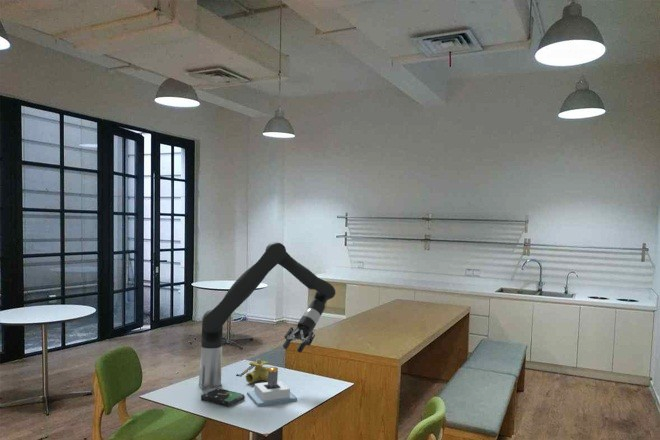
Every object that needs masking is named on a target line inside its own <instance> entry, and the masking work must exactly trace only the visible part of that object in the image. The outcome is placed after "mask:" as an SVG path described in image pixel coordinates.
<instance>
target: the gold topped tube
mask: <svg viewBox="0 0 660 440" xmlns="http://www.w3.org/2000/svg"><path fill="white" fill-rule="evenodd" d="M278 372H279V367H277V366H269V367H268V388H267V389H275V388H277V381H278V378H279V377H278V375H279V373H278Z"/></svg>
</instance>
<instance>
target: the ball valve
mask: <svg viewBox="0 0 660 440" xmlns="http://www.w3.org/2000/svg"><path fill="white" fill-rule="evenodd" d="M248 364H249V366H251V365H254V369H253V370H252V371H251V372H246V376H245V380H246V382H247V383H248V384H252V383H255V382H259V381H264V382H268V368H269V367H268V366H265V365H269V361H265V360H262V359H261V358H257V359H256V360H255V361H252V362H249V363H248Z"/></svg>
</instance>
